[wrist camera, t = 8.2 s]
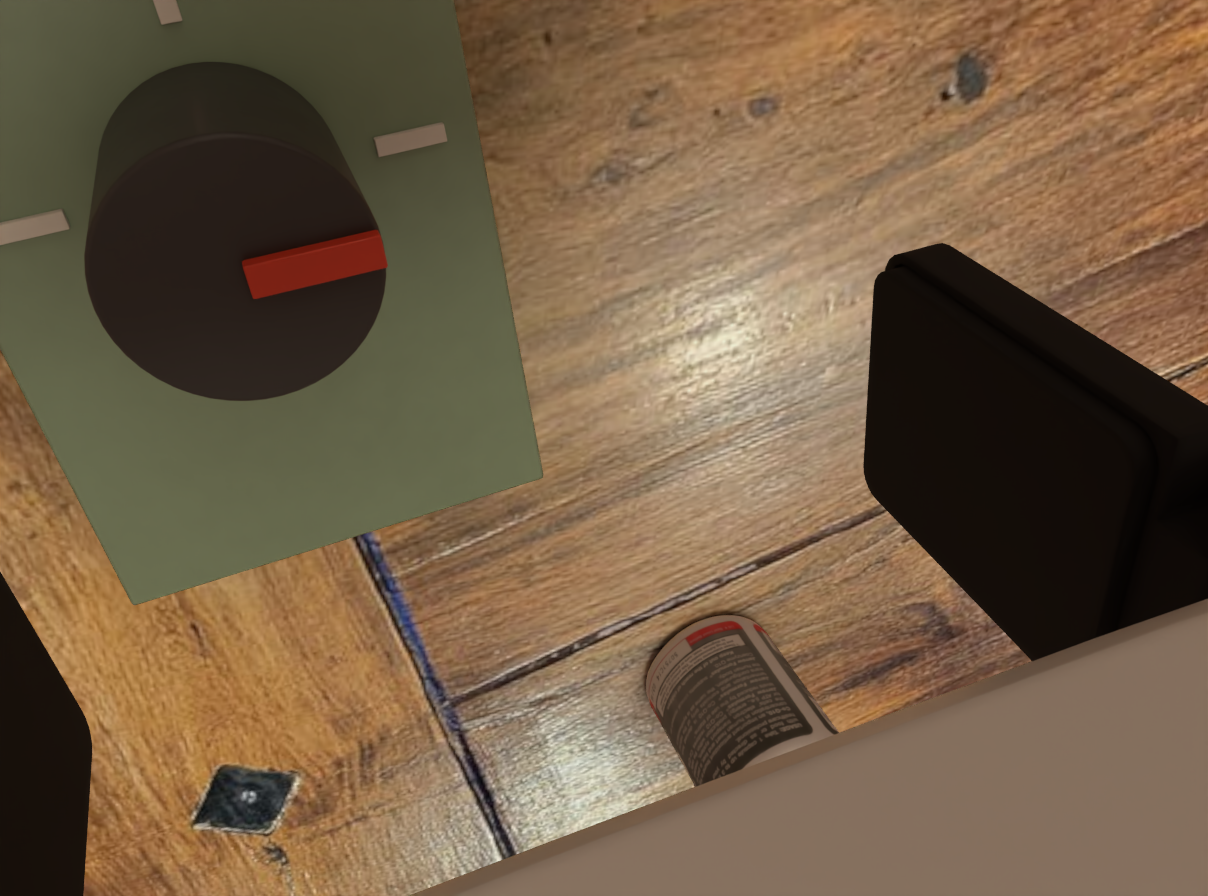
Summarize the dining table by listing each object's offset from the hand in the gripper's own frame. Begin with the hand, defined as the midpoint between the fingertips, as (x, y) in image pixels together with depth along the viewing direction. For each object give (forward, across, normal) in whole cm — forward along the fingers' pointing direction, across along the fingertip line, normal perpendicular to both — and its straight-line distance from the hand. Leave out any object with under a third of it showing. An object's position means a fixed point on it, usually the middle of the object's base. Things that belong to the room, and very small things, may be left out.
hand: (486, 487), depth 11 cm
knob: (+12, +2, 0) cm, 12 cm away
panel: (+15, +2, +2) cm, 15 cm away
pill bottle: (+15, -8, +21) cm, 27 cm away
